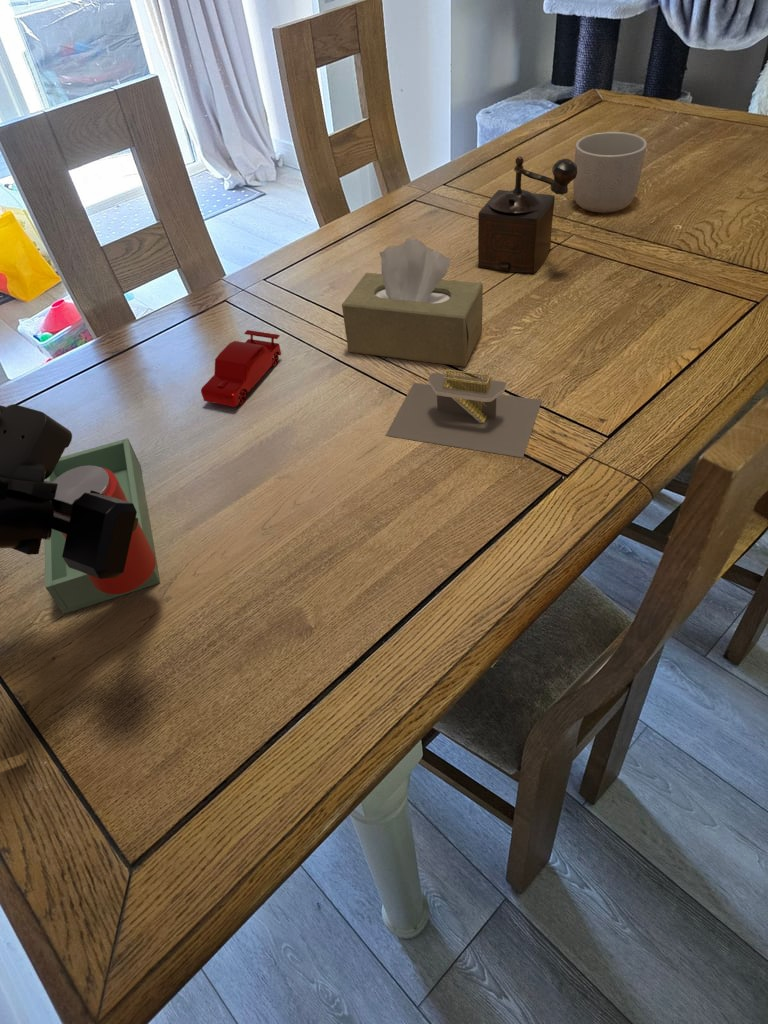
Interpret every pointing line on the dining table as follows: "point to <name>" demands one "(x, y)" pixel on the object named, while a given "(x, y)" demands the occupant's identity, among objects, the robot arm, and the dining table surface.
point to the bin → (60, 579)
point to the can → (139, 551)
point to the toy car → (240, 369)
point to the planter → (608, 170)
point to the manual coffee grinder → (521, 222)
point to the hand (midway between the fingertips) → (109, 514)
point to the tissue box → (414, 309)
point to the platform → (466, 414)
